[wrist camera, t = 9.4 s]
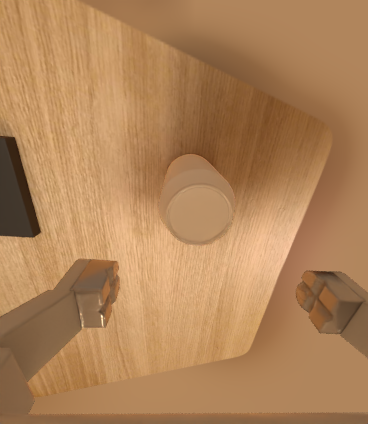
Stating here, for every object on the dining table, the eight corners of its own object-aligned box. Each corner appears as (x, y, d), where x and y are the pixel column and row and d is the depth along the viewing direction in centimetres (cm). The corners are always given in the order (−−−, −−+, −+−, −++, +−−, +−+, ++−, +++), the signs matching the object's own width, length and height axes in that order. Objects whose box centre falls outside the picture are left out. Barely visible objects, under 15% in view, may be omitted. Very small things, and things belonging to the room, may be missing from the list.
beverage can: (179, 206, 26) (181, 264, 15) (157, 167, 23) (138, 200, 12) (220, 186, 25) (254, 233, 14) (201, 143, 22) (223, 157, 11)
